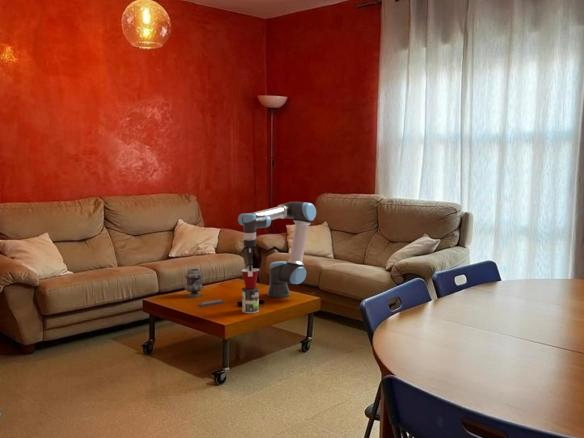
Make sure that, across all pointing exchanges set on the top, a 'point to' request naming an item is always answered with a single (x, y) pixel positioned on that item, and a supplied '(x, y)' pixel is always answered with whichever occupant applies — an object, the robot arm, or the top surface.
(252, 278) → the plastic cup
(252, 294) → the coffee can
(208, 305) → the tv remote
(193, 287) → the apothecary jar
